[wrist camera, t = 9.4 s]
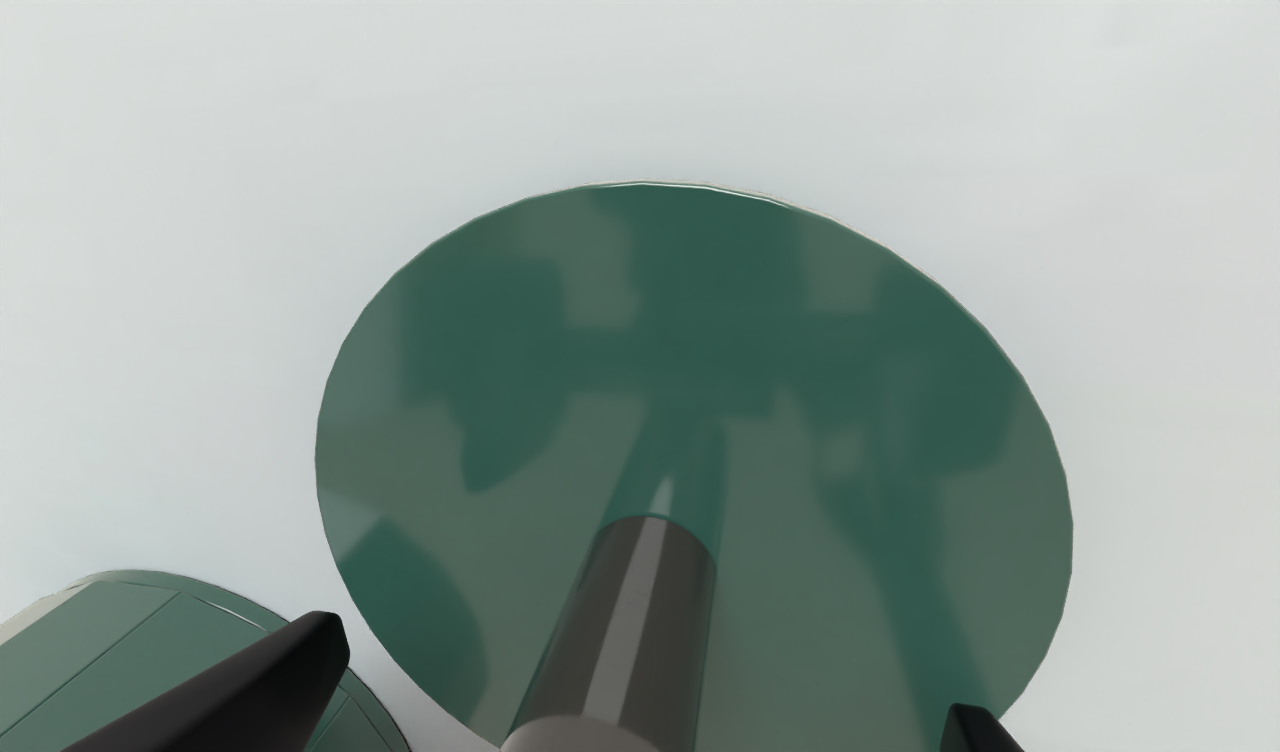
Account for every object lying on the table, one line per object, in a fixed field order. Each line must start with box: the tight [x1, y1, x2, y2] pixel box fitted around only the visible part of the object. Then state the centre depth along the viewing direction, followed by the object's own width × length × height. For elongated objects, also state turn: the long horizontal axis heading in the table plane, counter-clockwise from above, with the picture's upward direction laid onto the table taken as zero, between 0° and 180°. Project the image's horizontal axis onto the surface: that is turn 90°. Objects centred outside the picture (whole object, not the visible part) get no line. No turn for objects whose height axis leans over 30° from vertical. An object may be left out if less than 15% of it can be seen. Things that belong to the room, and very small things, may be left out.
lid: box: [315, 178, 1073, 752], centre depth 9 cm, size 13×13×6 cm
